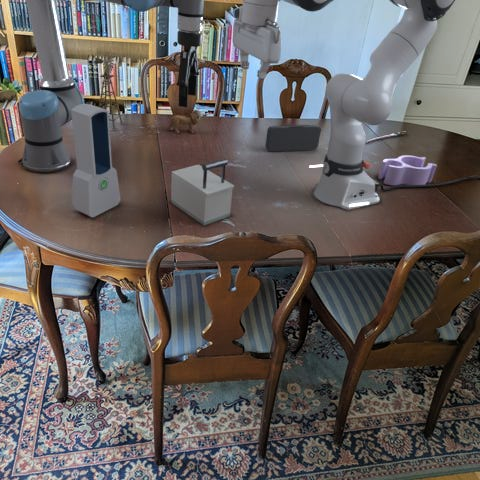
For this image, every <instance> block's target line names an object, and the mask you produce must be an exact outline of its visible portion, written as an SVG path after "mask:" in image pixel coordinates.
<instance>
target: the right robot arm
mask: <svg viewBox="0 0 480 480" xmlns="http://www.w3.org/2000/svg"><path fill="white" fill-rule="evenodd" d="M282 1H283V2H285V3H288V4H290V5H293V6H296V7H299V8H301V9H302V10H304V11H306V12H313V13H314V12H318V11H320V10H322V9H324V8H326V7H327V6H328V5H330V4H331V3H333V1H334V0H282ZM455 1H456V0H389V2H390V3H392V4H393V5H394V6H396V7H398V8H403V9H404V11H403V14H402V16H401V18H400V20H399V22H398V23H397V24H396V25H394V27H392V29H391V30H390V31H389V32H388V33H387V35H386V36H384V38H383V39H382V40H381V41H380V42H379V44H378V45H377V46H376V47H375V49H374V50H373V51H372V52H371V54H370V56H369V63H370V67H369V70H368V71H367V73H366V75H365V76H364V78H361V77H359V76H357V75H355V74H353V73H352V74H351V73H337V74H335V75H333V76H332V77H330V79H329V80H328V82H327V83H326V86H325V97H326V99H327V102H328V106H329V114H330V115H329V116H330V136H329V141H328V147H327V152H326V154H325V155H324V160H323V163H322V164H314V165H313V164H312V165H309V167H308V168H321V167H322V172H321V175H320V178H319V181H318V184H317V185H316V188H315V189H314V191H313V195H314V197H315V198H316V199H317V200H319V201H320V202H321V203H324V204H325V205H326V204H327V205H330V206H334V207H338V208H341V209H343V210H347V211H350V210H355V209H359V208H362V207H367V206H371V205H376V204H378V203H380V201H381V198H380V195H378V193H377V192H378V189H379V187H380V191H381V192H389V191H392V190H394V189H402V188H403V189H404V188H405V189H415V188H416V189H417V188H433V187H441V186H447V185H451V184H455V183H459V182H462V181H465V180H471V179H473V178H466V177H467V176H466V177H462V178H457V179H454V180H451V181H445V182H439V183H430V184H429V183H428V184H425V185H405V184H399V185H391V186H390V187H387V188H384V184H382V183H379V182H377V181H376V180H375V179H374V178H372V177H370V175H369V174H368V173H367V172H366V171H364V169H365V170H369V169H370V168H371V167H372V166H371V165H372V164H371V163H369V162H368V161H364V159H362V157H363V154H364V150H365V146H366V141H367V136H366V133H365V131H364V125H368V126H369V125H370V126H379V125H380V124H381V125H382V124H383V123H384V122H385V121H386V120H387V119H388V117H389V116H390V114H391V112H392V110H393V94H394V91H395V88H396V86H397V84H398V82H399V80H400V79H401V78H402V76H403V75H404V74H405V73H406V72H407V70H408V69H409V68H410V67H411V65H412V64H413V63H414V62H415V61H416V60H417V59H418V57H420V55H421V54H422V53H423V51H425V48H426V47H427V46H428V44H429V43H430V42H431V40H432V38H433V37H434V35H435V34H436V32H437V29H438V20H440V19H442V18H443V17H444V16H445V15H446V14H447V12H448V11H449V10H450V9H451V8H452V6H453V4H454V3H455ZM280 2H281V0H242V5H240V6H238V7H236V8H234V9H233V13H232V14H233V15H232V17H233V19H234V21H233V26H232V44H233V48H236V49H238V50H239V56H240V68H241V69H243V70H248V69H250V62H249V55H250V56H251V57H253V58H255V59H258V60H260V63H259V64H260V67H259V69H258V70H257V73H256V74H257V75H256V77H257V78H259V79H266V77H267V72H268V70H269V69H270V66H271V64H279V62H280V60H281V57H282V43H283V42H282V41H283V38H282V37H283V35H282V32H281V28H280V26H279V23H278V22H277V19H278V11H279V3H280ZM363 124H364V125H363ZM469 177H480V175H476V174H475V175H470V176H469ZM463 178H464V179H463ZM460 179H461V180H460ZM477 179H478V180H479V181H480V178H477Z"/></svg>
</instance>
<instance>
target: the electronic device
mask: <svg viewBox="0 0 480 480" xmlns="http://www.w3.org/2000/svg"><path fill="white" fill-rule="evenodd" d="M102 108H103V107H101V108H99V106H96V105H93V104H90V103H84V104H80V105H77V106H75V107H74V108H73V109H72V110H71V115H72V120H71V123H72V124H71V125H72V132H73V143H74V151H75V160H76V169H75V171H74V173H73V174H72V185H71V188H72V189H71V201H70V202H71V204H72V207H73V209H74V210H75V211H77V212H79V213H81V214H84V215H86V216H88V217H90V218H95V217H97V216H99V215H101V214H103V213H105V212H107V211H109V210H112V208H115V207H117V206H118V205H119V204H120V202H121V201H122V200H121V192H120V186H119V179H118V178H119V177H118V170H117V169H116V168H114V166H113V160H112V158H113V157H112V142H111V127H110V120H109V119H110V114H109V113H110V111H109V110H108V109H106V110H105V108H104V109H102Z"/></svg>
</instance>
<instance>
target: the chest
mask: <svg viewBox="0 0 480 480" xmlns="http://www.w3.org/2000/svg"><path fill="white" fill-rule="evenodd" d="M170 184H171V189H170V190H171V191H170V192H171V193H170V203H172V205H174V206H175V207H177V208H178V209H180V210H181V211H182V212H184V213H186V214H187V215H188V216H189V217H191V218H193V219H194V220H195V221H197V222H198V223H199V224H201V225H202V226H206V225H209V224H212V223H215V222H217V221H221V220H223V219H225V218H229V217H230V216H231V209H232V200H233V199H232V198H233V189H234V188H232V189H229V190H226V191H223V192H220V193H217V194H213V195H210V196H205V195H204V194H202V193H201V192H199V191H197V190H196V189H194V188H193V187H191V186H190V185H188V184H187V183H185V182H183V181H182V180H180V179H179V178H177V177H176V176H174V175H173V174H172V173H171V183H170Z"/></svg>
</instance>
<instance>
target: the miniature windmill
mask: <svg viewBox="0 0 480 480" xmlns="http://www.w3.org/2000/svg"><path fill="white" fill-rule="evenodd" d="M107 55H108V51H105V53H104V56H103V59H102V58H99V57H94V61H95V64H96V65H97V64H98V65H99V64H101V65H103V66H102V67H103V72H104V73H102V74H101V75H99V77H100V78H103V79H102V82H101V91H100V93H99V95H100V99H99V104H98V107H99V108H102V109H105V110H107V108H110V112H109V115H111V119H110V118H109V122H112V129H113V130H116V125H115V121H116V120H118V119H119V120H120V121H119V122H120V124H121V125H122V124H124V123H123V119H122V116H123V115H122V114H121V112H120V108H119V102H118V100H117V97H116V92H115V90H114V86H113V81H112V79H111V78H114V77H115V74H111V73H112V71H113V68H114V66H113V65H114V59H113V58H114V55H113V53H112V51H109V56H107ZM110 87H111V89H110ZM111 90H112V91H111ZM107 93H108V94H107ZM103 96H104V97H103ZM107 96H108V97H109V98H108V99H109V100H107ZM112 96H113V98H114V101H112ZM102 100H104V102H102ZM107 103H109V105H107ZM115 106H116V110H117V113H114V111H113V108H114V107H115ZM114 116H117V117H115V118H114Z"/></svg>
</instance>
